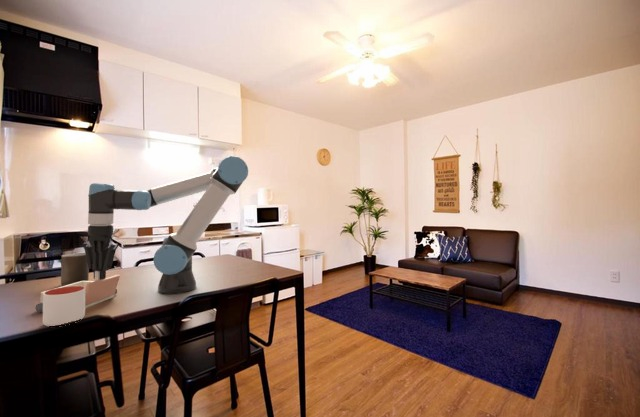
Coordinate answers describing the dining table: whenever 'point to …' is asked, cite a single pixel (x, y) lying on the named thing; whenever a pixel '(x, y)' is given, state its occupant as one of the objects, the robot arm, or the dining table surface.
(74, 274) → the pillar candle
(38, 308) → the truck bed
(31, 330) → the dining table surface
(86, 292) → the panel
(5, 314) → the dining table surface
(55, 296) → the cup
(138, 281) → the dining table surface
